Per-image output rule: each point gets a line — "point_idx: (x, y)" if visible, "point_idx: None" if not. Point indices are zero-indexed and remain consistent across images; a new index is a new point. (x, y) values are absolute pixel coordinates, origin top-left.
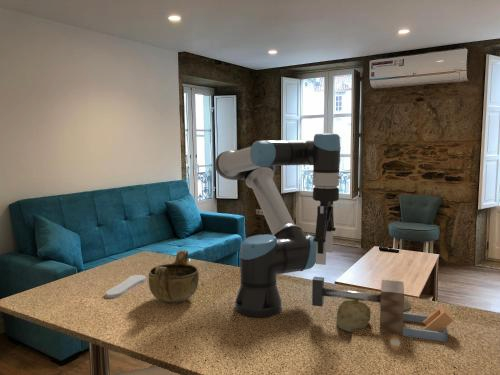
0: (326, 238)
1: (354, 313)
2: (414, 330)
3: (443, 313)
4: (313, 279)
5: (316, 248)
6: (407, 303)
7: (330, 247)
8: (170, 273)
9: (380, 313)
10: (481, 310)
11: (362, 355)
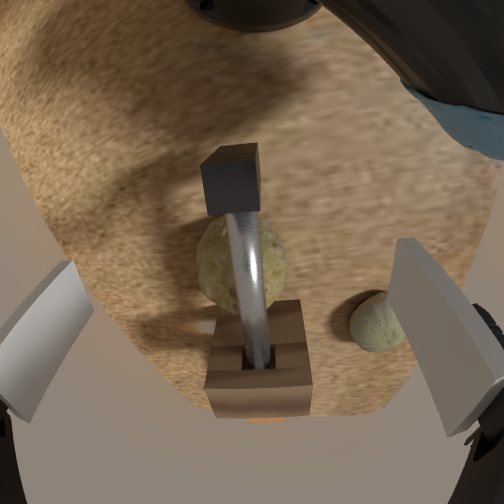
0: (447, 338)
1: (201, 284)
2: None
3: (249, 420)
4: (203, 169)
5: (3, 330)
6: (367, 351)
7: (404, 311)
8: None
9: (213, 341)
10: (386, 403)
11: (126, 282)
